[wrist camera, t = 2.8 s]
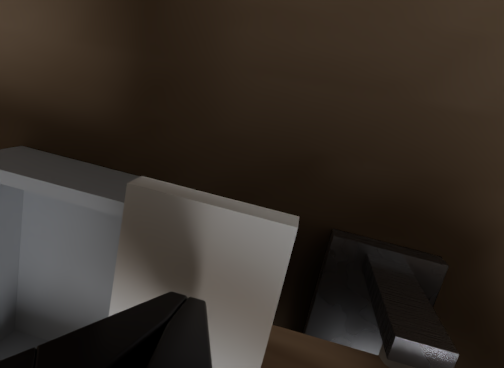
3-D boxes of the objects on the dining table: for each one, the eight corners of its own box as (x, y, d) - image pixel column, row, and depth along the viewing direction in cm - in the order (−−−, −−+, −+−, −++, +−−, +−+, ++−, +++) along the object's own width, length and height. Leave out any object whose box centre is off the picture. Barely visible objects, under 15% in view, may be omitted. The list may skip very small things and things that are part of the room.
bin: (244, 405, 21) (229, 471, 17) (9, 331, 22) (-50, 378, 18) (293, 216, 18) (288, 246, 14) (21, 145, 19) (-47, 157, 16)
